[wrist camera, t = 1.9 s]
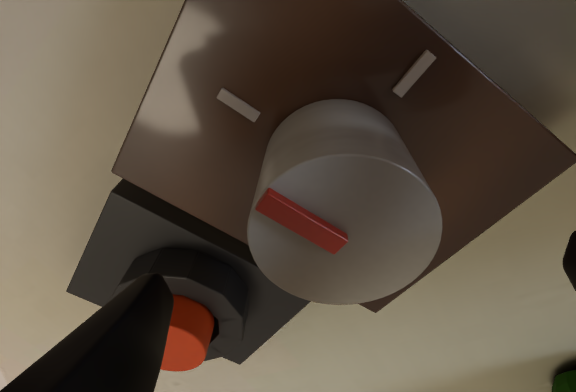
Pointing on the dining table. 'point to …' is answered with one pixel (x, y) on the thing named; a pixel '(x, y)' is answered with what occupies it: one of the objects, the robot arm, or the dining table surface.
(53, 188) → the dining table surface
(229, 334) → the button box
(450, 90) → the dial panel
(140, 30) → the dining table surface
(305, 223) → the dial
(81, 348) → the robot arm
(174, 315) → the red button
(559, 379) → the bell pepper
